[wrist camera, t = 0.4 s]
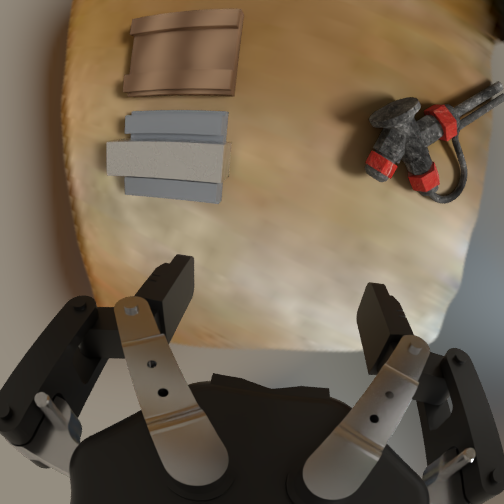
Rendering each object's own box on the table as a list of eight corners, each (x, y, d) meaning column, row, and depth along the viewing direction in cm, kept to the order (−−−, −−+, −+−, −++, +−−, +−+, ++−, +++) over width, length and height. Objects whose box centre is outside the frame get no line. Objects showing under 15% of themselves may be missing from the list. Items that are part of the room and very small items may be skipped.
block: (123, 168, 33) (107, 175, 30) (124, 138, 31) (106, 141, 28) (228, 176, 32) (221, 183, 29) (231, 142, 30) (224, 144, 27)
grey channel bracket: (136, 192, 36) (125, 198, 33) (137, 111, 31) (125, 111, 28) (221, 200, 35) (215, 207, 32) (228, 112, 30) (222, 111, 28)
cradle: (135, 97, 30) (122, 96, 27) (144, 22, 25) (133, 15, 23) (234, 96, 29) (228, 93, 27) (243, 14, 25) (239, 5, 22)
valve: (387, 225, 36) (335, 129, 30) (505, 144, 28) (474, 54, 22) (407, 249, 30) (354, 137, 24) (532, 156, 23) (504, 55, 16)
